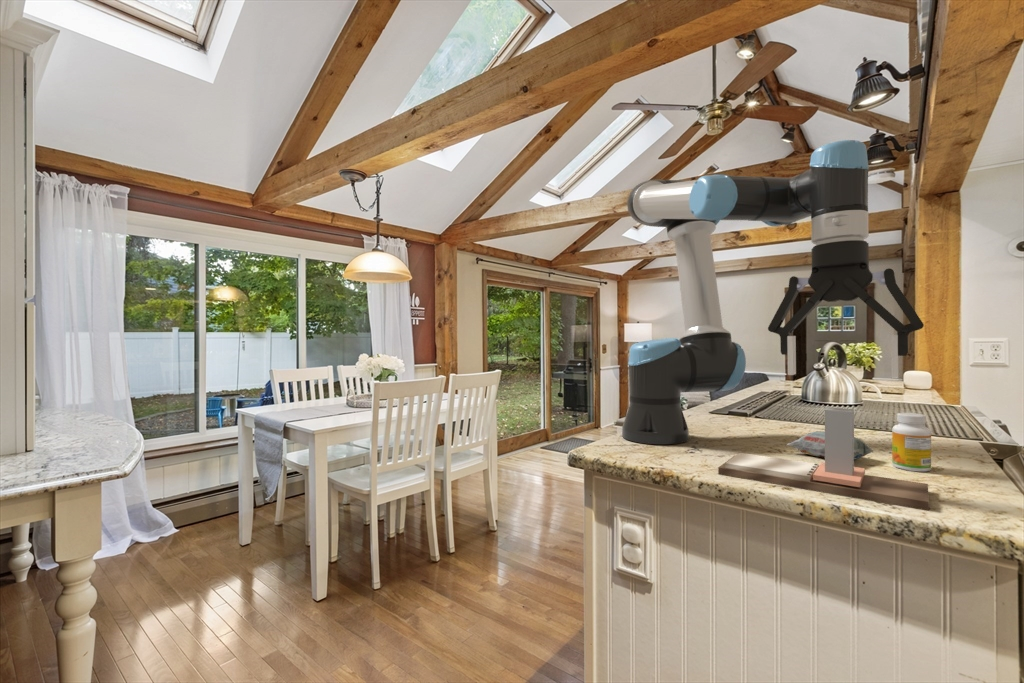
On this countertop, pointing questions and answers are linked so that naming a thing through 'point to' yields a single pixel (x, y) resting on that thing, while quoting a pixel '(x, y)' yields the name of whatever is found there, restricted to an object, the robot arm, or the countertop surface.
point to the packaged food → (816, 445)
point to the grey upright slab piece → (839, 450)
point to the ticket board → (802, 478)
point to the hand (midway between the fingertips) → (840, 376)
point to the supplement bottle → (911, 443)
